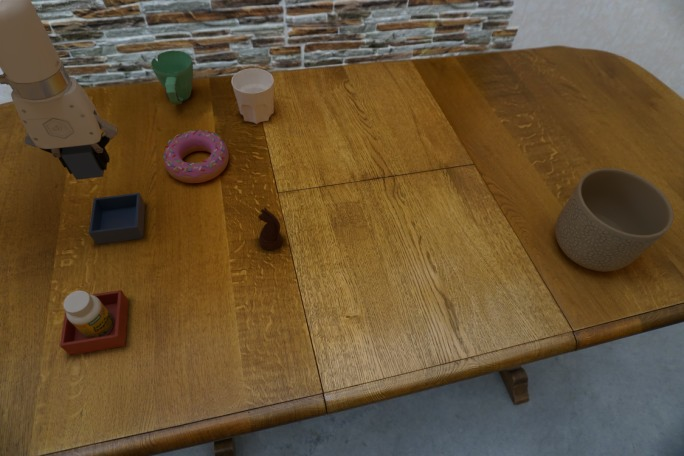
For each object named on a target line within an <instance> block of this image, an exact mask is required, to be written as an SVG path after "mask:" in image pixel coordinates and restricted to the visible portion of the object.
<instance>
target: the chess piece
mask: <svg viewBox="0 0 684 456" xmlns="http://www.w3.org/2000/svg"><path fill="white" fill-rule="evenodd" d="M260 213H261V214H259V215H257V217H258V219H259V221H262V222H263V223H265V225H263V227H262V228H261V231H260V234H259V238H258V241H259V245H260V246H261V248H262V249H264V250H266V251H275V250H277V249H278V248H280V247H281V245H282V243H283V237H282V233H280V232H281V224H280V222H279V219H278V218H277V216H275V214H274V213H272V212H271V211H269V210H268V209H267V208H266V207H264V209H261V210H260Z"/></svg>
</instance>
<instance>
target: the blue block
mask: <svg viewBox="0 0 684 456" xmlns="http://www.w3.org/2000/svg"><path fill="white" fill-rule="evenodd" d="M61 156H62V158H63V159H64V161H65V163H66V164H67V166H68V167H69V169H70V171H71V172H72V174H71V175H73V178H75V180H77V181H79V180H87V179H88V180H89V179H95V178H97V179H98V178H104V176H105V170H102V169H101V167H100V165H99V163H98V162H97V160H96V158H95V156H94V149H93V148H92V147H91V146H90V145H81V146H72V147H63V149H62V154H61Z"/></svg>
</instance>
